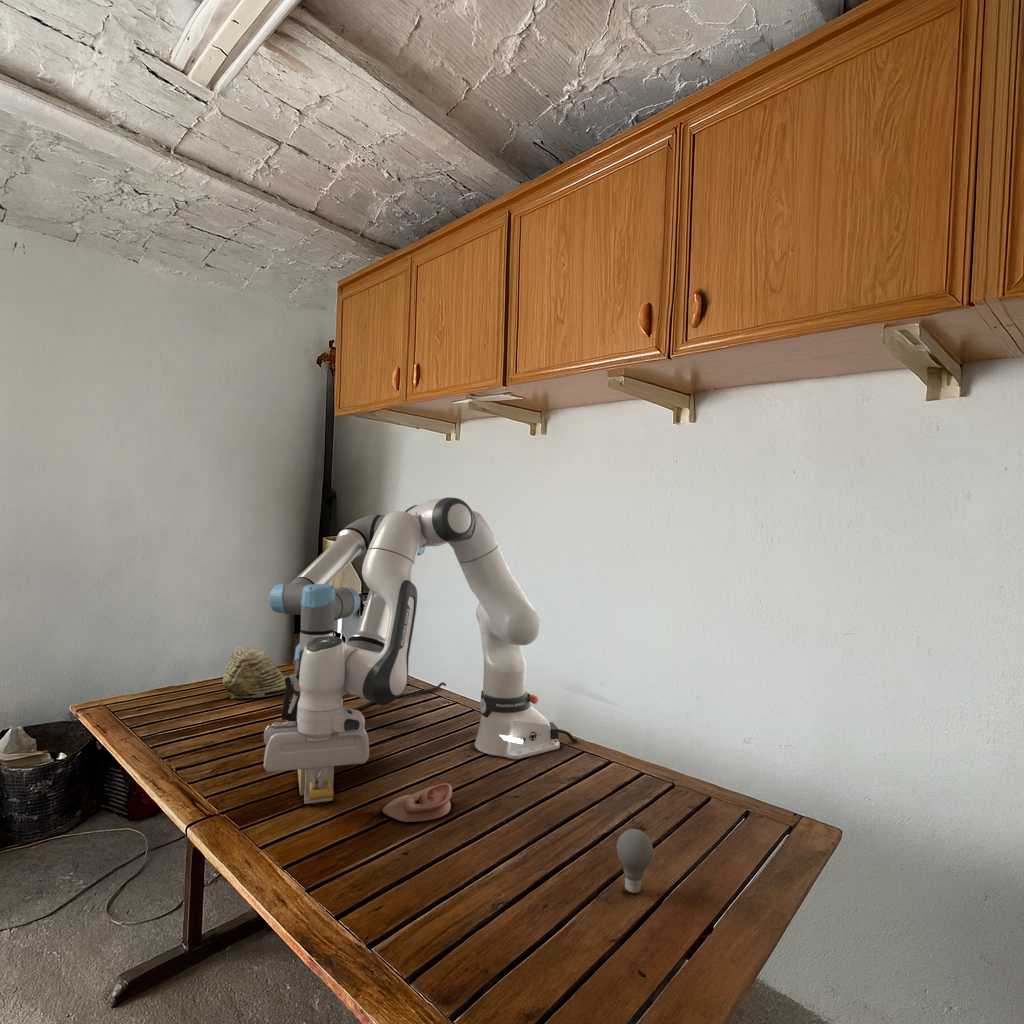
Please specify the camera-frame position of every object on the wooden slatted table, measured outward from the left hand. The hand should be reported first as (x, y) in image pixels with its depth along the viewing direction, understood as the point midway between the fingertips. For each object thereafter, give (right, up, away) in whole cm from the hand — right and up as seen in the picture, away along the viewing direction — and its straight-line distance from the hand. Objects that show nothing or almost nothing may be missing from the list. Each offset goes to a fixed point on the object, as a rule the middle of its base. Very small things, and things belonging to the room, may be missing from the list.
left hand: (311, 746), depth 151 cm
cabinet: (+2, -3, -5) cm, 7 cm away
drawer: (+5, -3, -13) cm, 15 cm away
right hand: (+8, 0, -23) cm, 25 cm away
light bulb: (+68, -8, -45) cm, 82 cm away
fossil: (-33, -2, +47) cm, 58 cm away
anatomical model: (+28, -5, -21) cm, 35 cm away
